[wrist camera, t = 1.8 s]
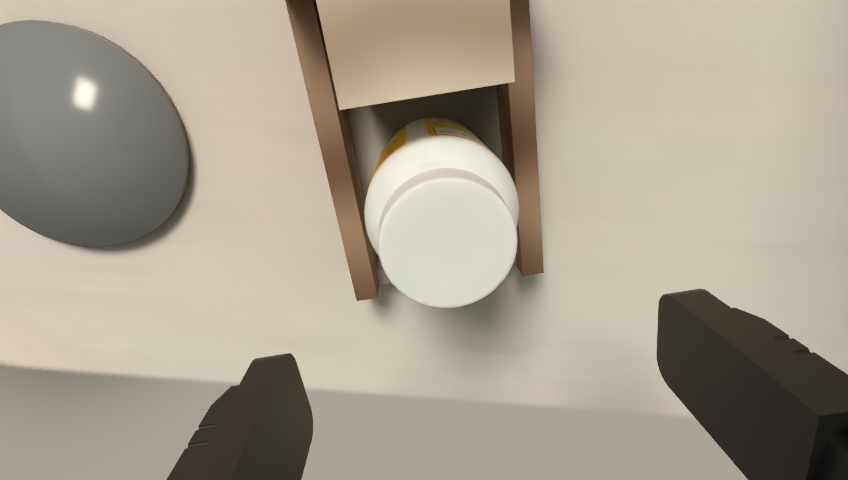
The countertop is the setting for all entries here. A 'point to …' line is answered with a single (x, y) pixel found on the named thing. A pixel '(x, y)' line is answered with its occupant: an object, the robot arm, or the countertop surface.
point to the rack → (416, 94)
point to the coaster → (85, 137)
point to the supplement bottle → (442, 214)
